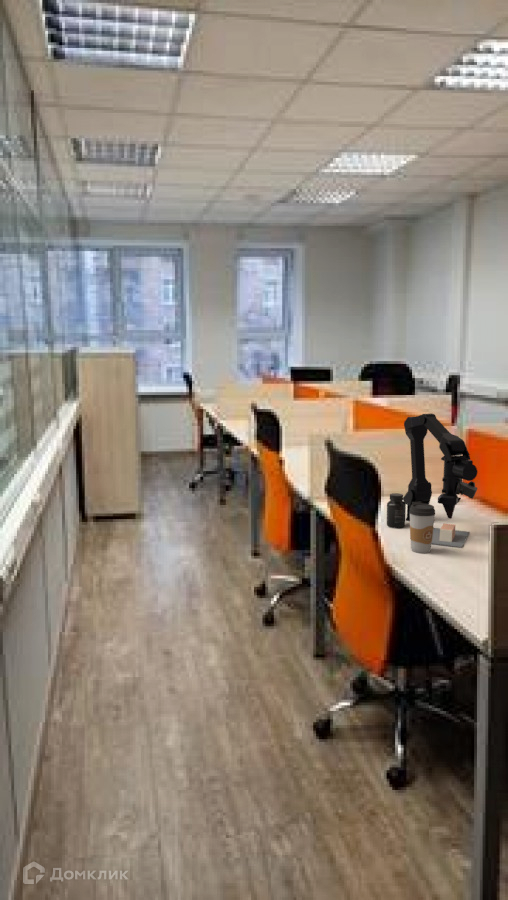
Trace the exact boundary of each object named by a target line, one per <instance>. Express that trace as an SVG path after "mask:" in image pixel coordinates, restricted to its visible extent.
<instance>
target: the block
mask: <svg viewBox="0 0 508 900" xmlns="http://www.w3.org/2000/svg"><path fill="white" fill-rule="evenodd" d="M455 530H456V524H453V523H452V524H451V523H443V524H442V526H441V527H440V541H447V542H452V540H453V538H454V537H455Z"/></svg>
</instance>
